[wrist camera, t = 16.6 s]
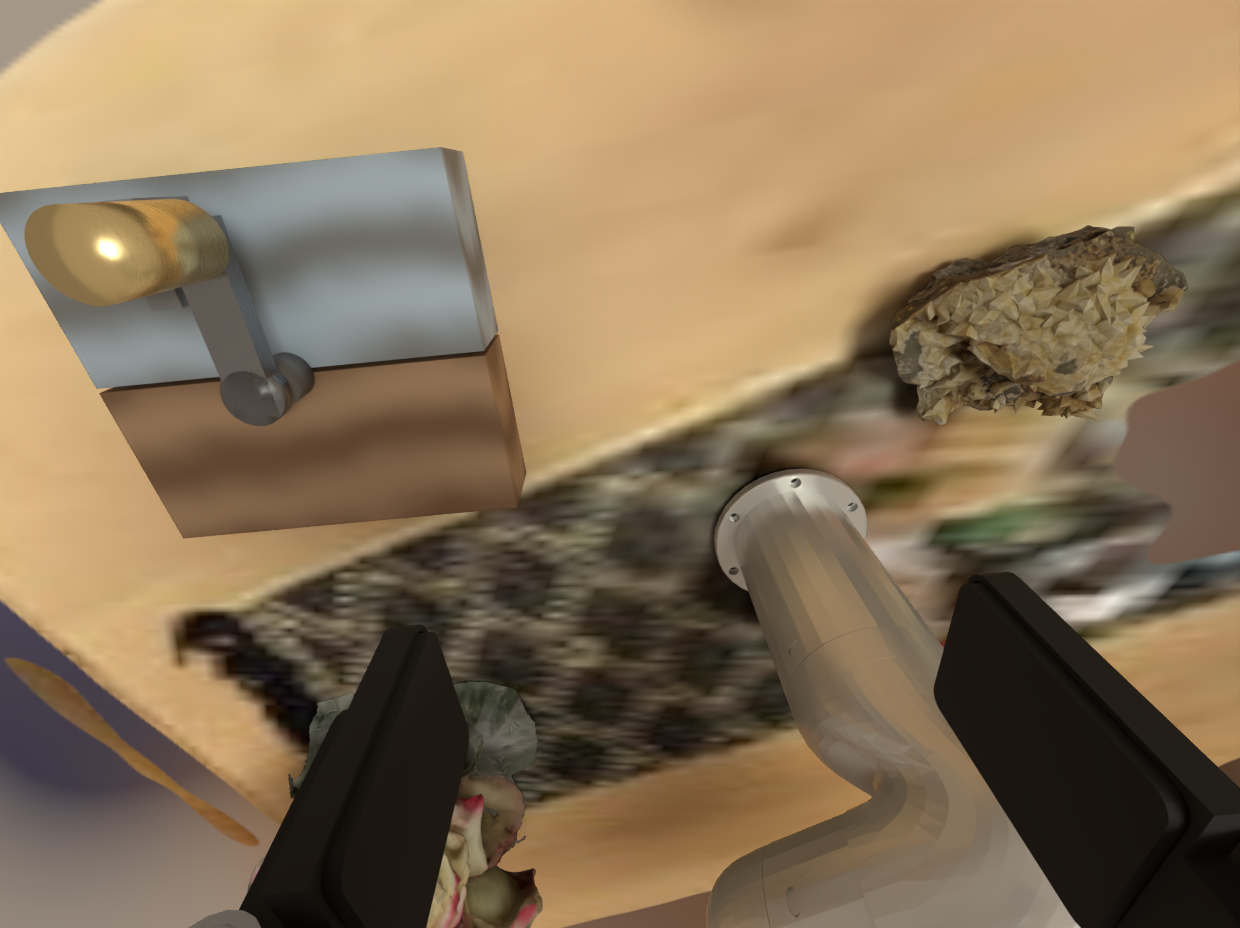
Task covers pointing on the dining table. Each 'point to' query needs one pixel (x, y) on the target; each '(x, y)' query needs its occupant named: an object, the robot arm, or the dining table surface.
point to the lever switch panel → (313, 348)
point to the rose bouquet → (474, 811)
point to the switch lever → (165, 283)
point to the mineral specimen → (1033, 324)
